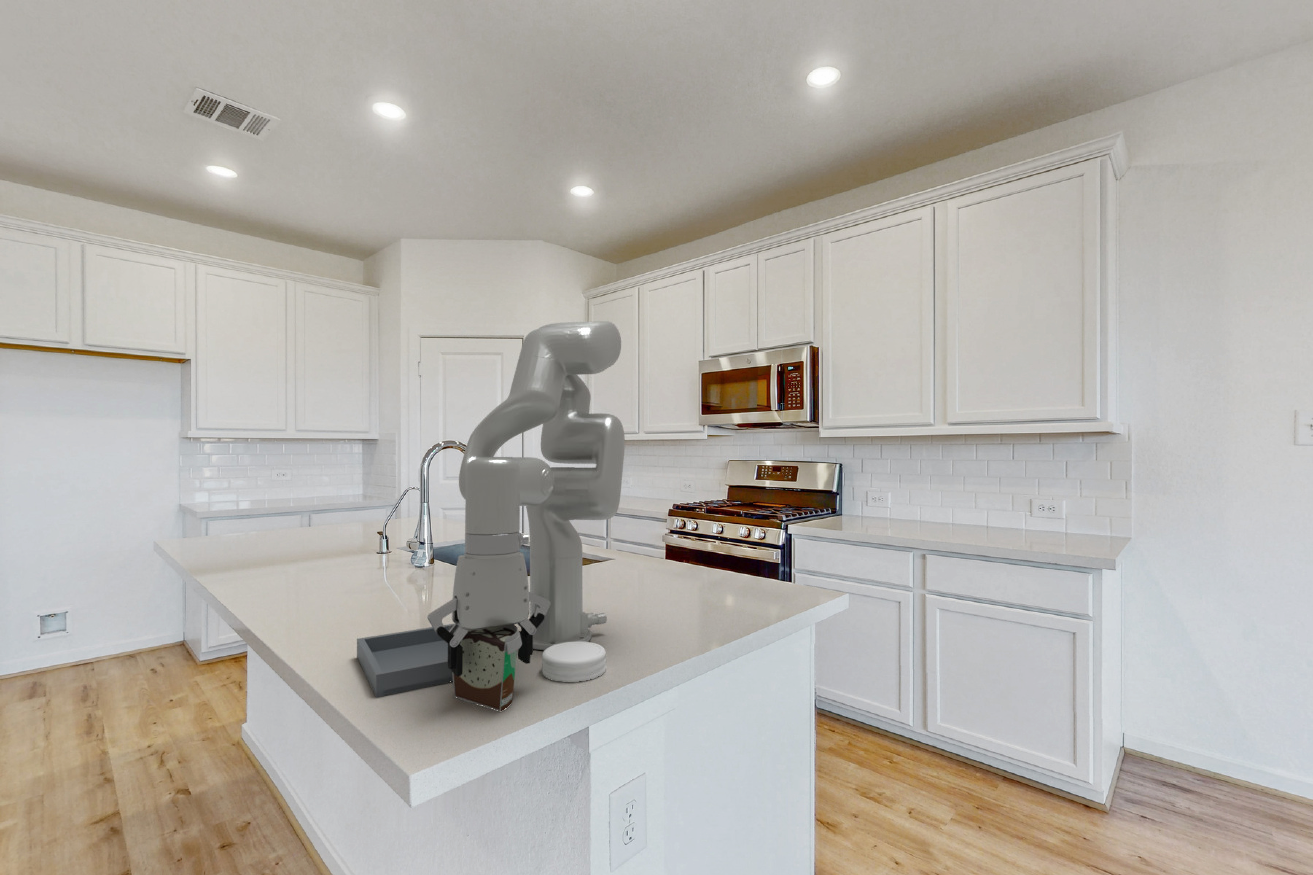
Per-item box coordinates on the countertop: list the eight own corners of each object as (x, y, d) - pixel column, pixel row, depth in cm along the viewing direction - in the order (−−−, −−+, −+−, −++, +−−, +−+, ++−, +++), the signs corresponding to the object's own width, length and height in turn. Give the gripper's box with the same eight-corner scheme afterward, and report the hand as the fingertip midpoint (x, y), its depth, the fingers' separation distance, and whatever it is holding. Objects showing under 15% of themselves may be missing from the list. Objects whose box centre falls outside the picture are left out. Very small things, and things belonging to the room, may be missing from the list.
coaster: (575, 657, 106) (575, 636, 106) (618, 670, 100) (618, 648, 100) (528, 674, 98) (528, 651, 98) (572, 689, 92) (572, 665, 92)
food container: (540, 698, 88) (540, 627, 88) (508, 714, 83) (508, 639, 83) (480, 681, 95) (480, 615, 95) (446, 695, 89) (446, 625, 90)
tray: (475, 637, 116) (475, 620, 116) (512, 669, 100) (512, 649, 100) (356, 657, 106) (356, 638, 106) (376, 697, 89) (376, 674, 89)
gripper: (539, 538, 97) (538, 650, 96) (423, 546, 87) (421, 670, 87) (559, 543, 90) (558, 663, 90) (436, 553, 81) (434, 687, 80)
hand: (491, 667), depth 88 cm, fingers open, 9 cm apart
